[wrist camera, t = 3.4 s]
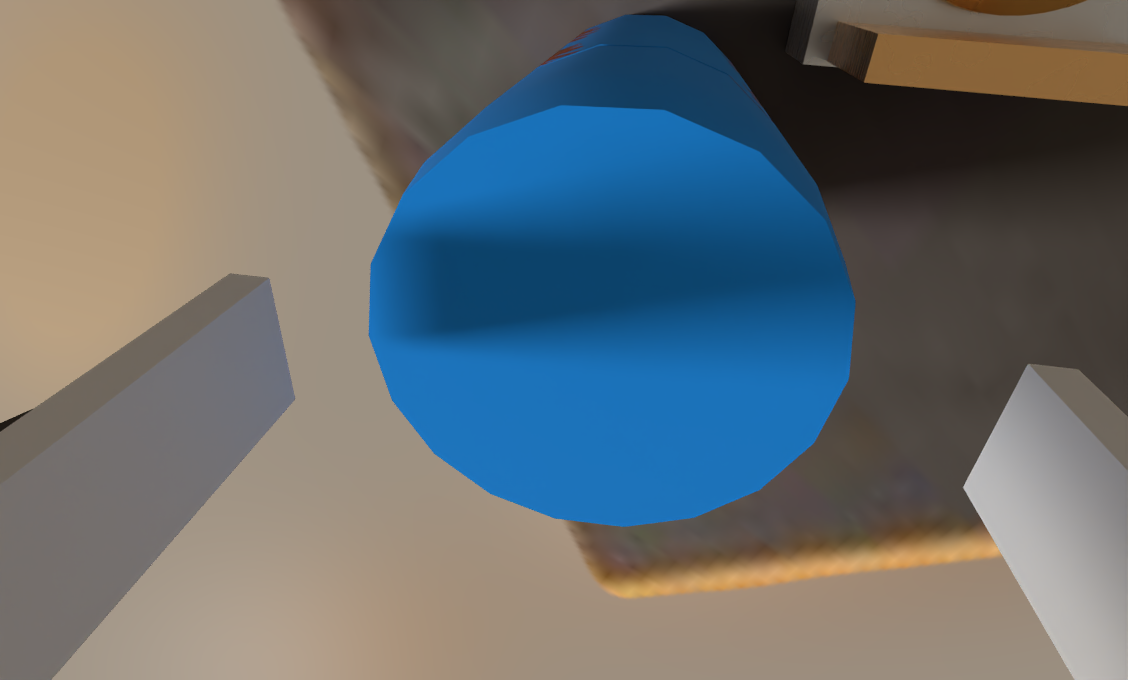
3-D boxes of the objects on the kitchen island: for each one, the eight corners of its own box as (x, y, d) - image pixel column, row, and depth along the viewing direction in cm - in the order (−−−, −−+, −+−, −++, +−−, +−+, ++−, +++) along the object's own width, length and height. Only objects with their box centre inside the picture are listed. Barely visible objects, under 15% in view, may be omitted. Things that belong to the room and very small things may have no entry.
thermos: (767, 162, 35) (925, 463, 14) (599, 239, 39) (518, 569, 17) (690, -35, 31) (747, -42, 9) (509, 74, 34) (259, 245, 13)
